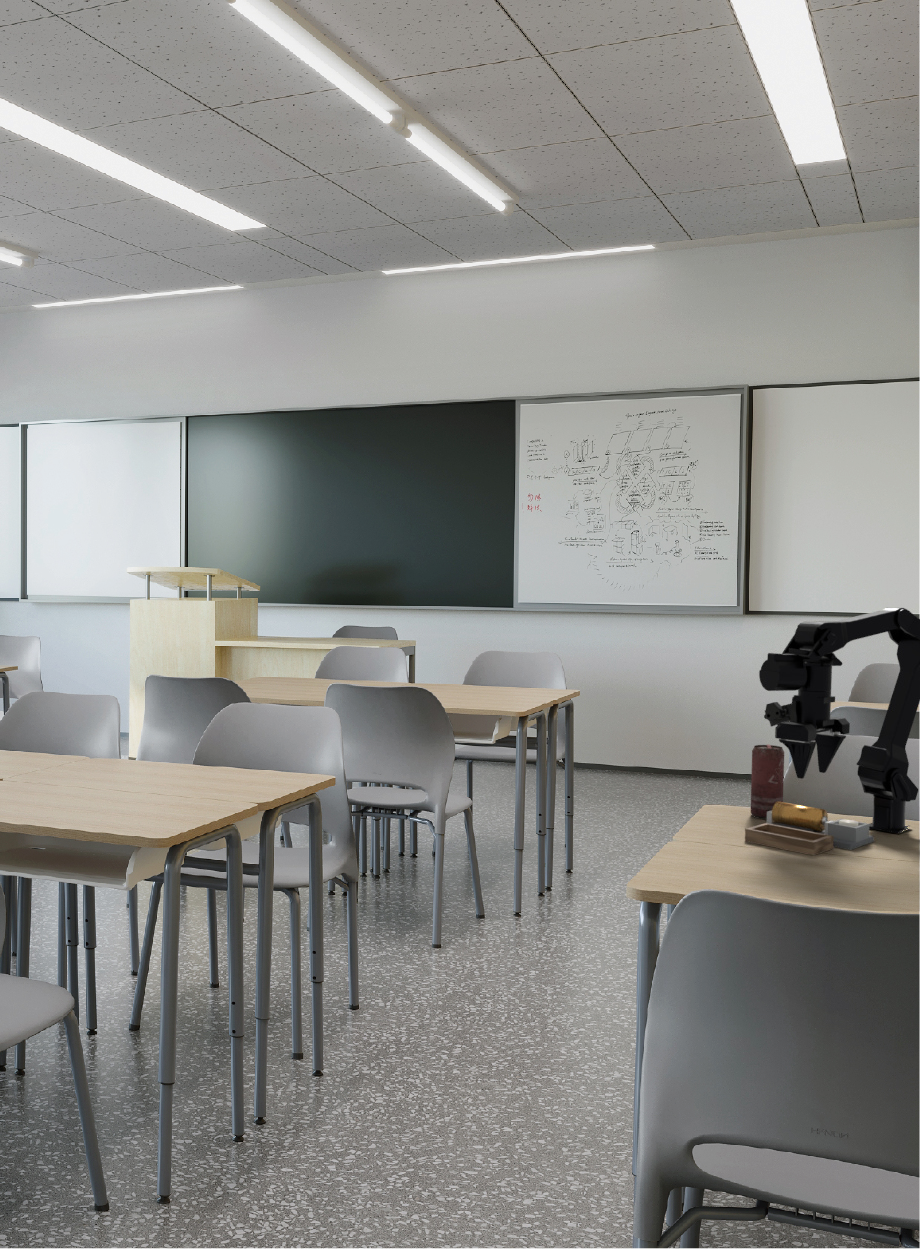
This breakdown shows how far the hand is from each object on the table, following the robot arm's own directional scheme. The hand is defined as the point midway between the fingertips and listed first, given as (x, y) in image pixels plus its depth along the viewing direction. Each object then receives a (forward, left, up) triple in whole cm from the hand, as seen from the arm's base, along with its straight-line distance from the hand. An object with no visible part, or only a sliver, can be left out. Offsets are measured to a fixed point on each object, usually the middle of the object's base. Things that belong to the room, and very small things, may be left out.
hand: (811, 775), depth 189 cm
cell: (0, -2, -8) cm, 8 cm away
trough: (+9, +1, -11) cm, 15 cm away
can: (-9, -14, -11) cm, 20 cm away
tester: (0, +1, -11) cm, 11 cm away
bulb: (0, +7, -9) cm, 12 cm away
